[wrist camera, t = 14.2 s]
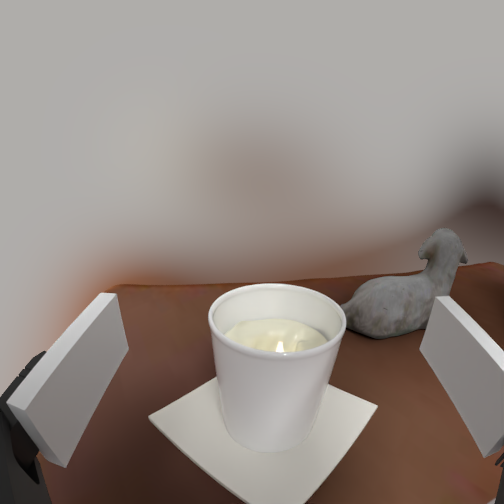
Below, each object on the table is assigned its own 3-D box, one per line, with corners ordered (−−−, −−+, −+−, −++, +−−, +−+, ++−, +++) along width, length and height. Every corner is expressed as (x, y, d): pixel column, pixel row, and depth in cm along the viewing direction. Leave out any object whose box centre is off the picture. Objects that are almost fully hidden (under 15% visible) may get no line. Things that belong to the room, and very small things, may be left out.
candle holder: (342, 429, 24) (374, 322, 20) (249, 478, 19) (253, 374, 15) (281, 374, 32) (291, 275, 28) (198, 404, 27) (188, 297, 23)
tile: (376, 409, 26) (377, 405, 26) (282, 526, 15) (282, 524, 15) (257, 353, 36) (258, 349, 36) (149, 420, 25) (148, 416, 24)
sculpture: (456, 320, 42) (479, 234, 37) (374, 363, 34) (401, 247, 29) (413, 295, 51) (428, 217, 46) (326, 322, 43) (339, 222, 38)
